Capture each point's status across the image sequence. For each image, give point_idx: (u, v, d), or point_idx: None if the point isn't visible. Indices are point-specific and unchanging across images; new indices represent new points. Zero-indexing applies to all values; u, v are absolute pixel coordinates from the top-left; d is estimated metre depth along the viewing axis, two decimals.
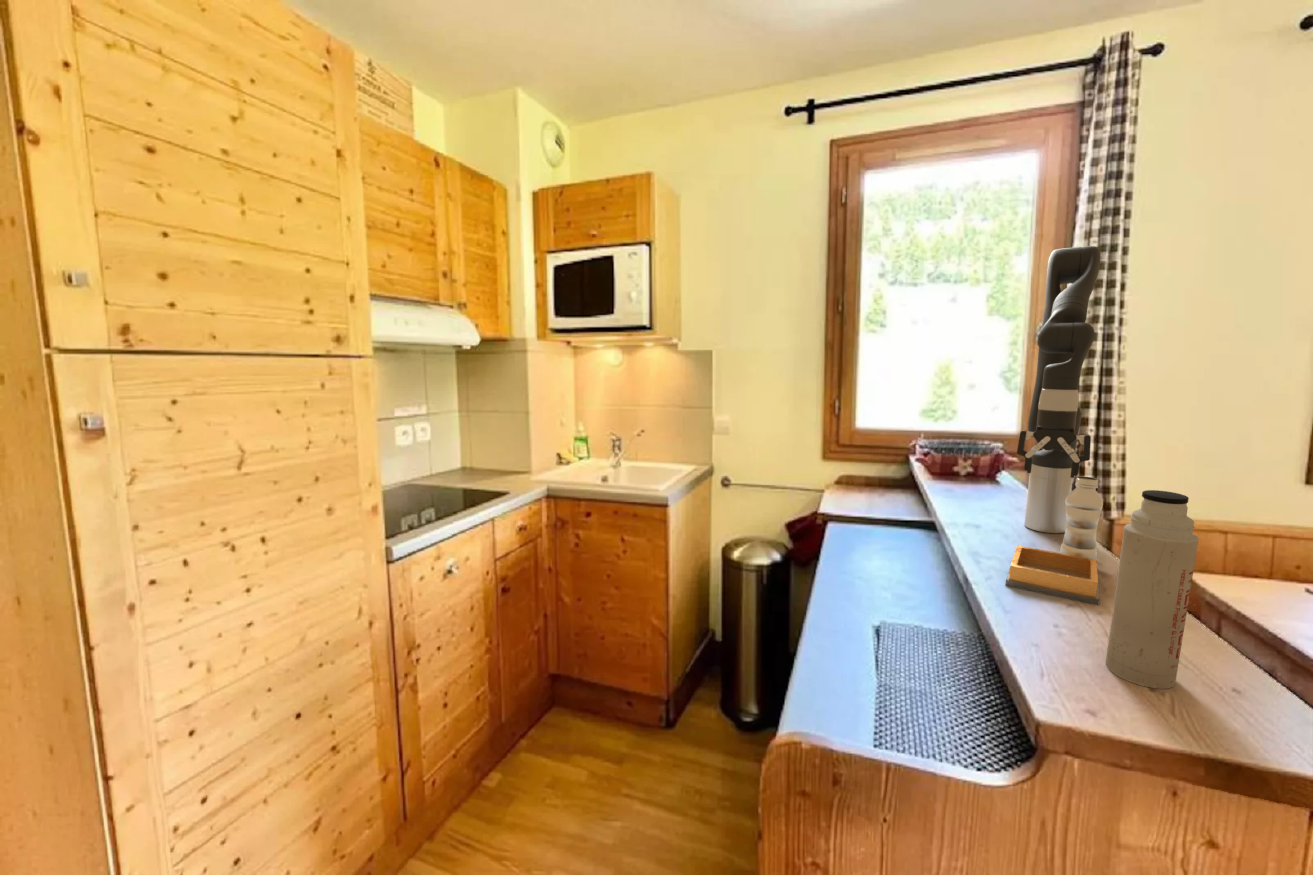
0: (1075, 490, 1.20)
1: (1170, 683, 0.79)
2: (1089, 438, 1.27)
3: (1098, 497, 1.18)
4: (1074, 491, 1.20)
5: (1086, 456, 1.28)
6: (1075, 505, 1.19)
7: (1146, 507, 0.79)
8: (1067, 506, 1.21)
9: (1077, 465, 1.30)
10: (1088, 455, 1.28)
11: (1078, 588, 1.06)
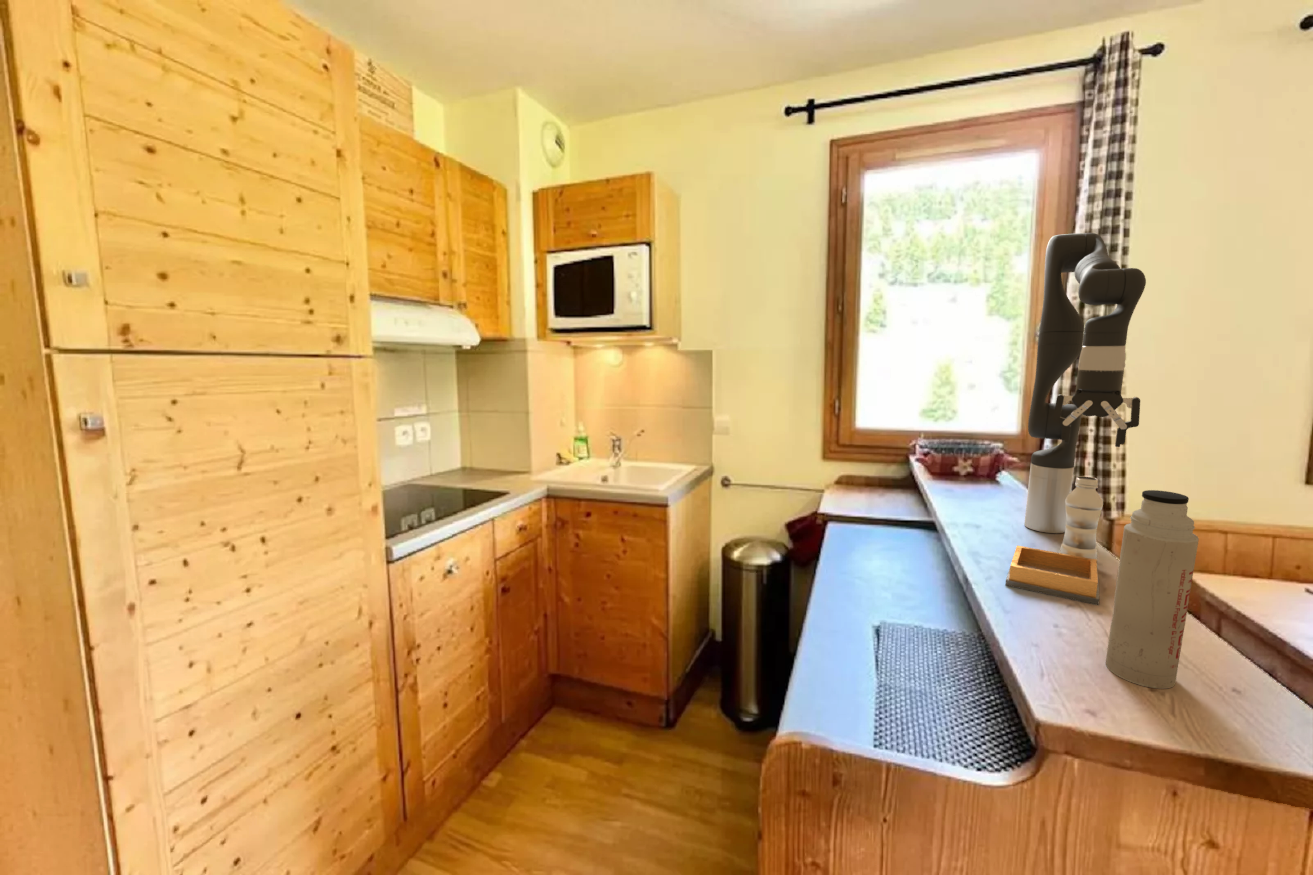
0: (1075, 490, 1.20)
1: (1170, 683, 0.79)
2: (1138, 401, 1.11)
3: (1098, 497, 1.18)
4: (1074, 491, 1.20)
5: (1135, 422, 1.12)
6: (1075, 505, 1.19)
7: (1146, 507, 0.79)
8: (1067, 506, 1.21)
9: (1124, 432, 1.14)
10: (1137, 420, 1.12)
11: (1078, 588, 1.06)
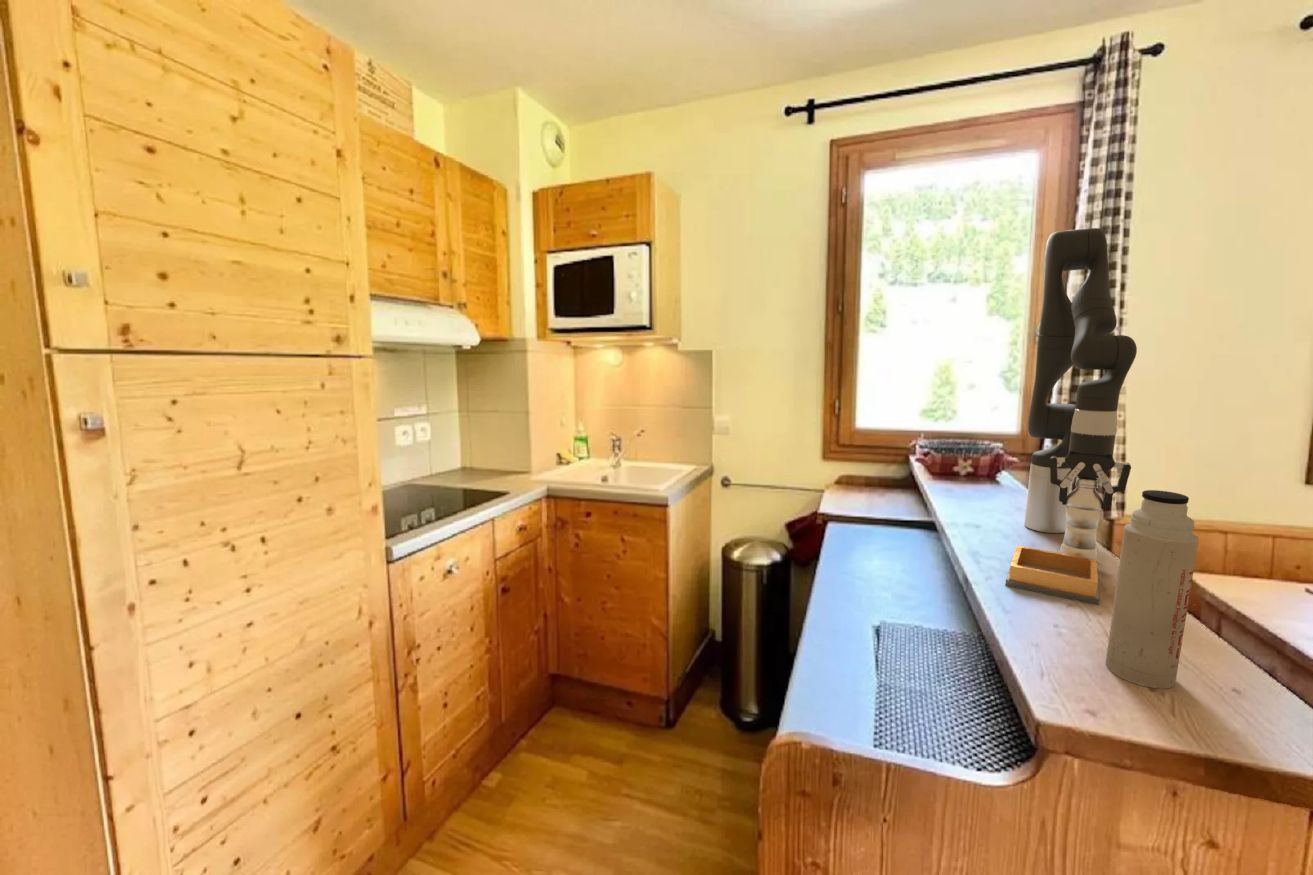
0: (1075, 490, 1.20)
1: (1170, 683, 0.79)
2: (1129, 468, 1.14)
3: (1098, 497, 1.18)
4: (1074, 491, 1.20)
5: (1121, 487, 1.15)
6: (1075, 505, 1.19)
7: (1146, 507, 0.79)
8: (1067, 506, 1.21)
9: (1110, 496, 1.17)
10: (1123, 486, 1.15)
11: (1078, 588, 1.06)
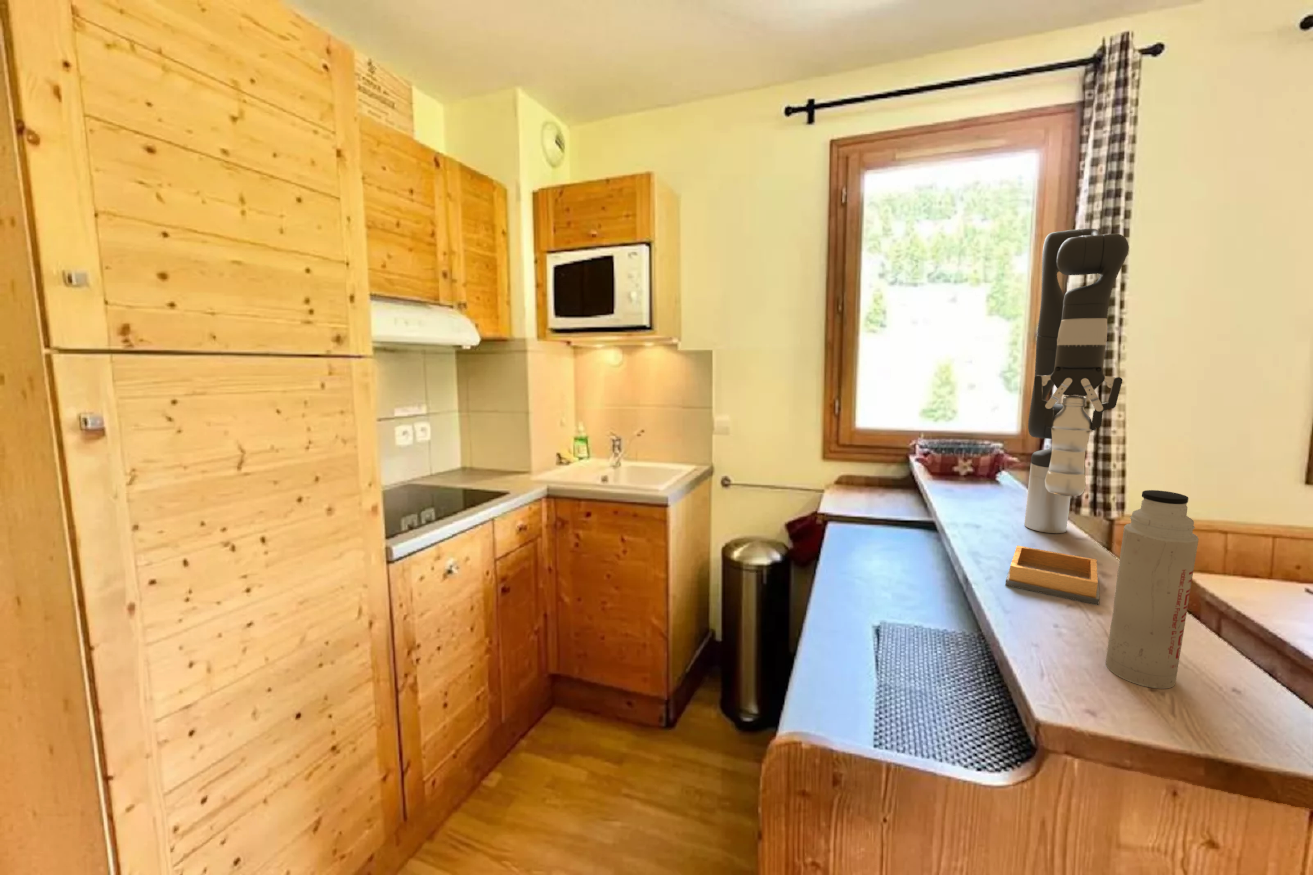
0: (1062, 410, 1.09)
1: (1170, 683, 0.79)
2: (1120, 381, 1.03)
3: (1087, 416, 1.07)
4: (1061, 411, 1.09)
5: (1112, 403, 1.04)
6: (1062, 425, 1.08)
7: (1146, 507, 0.79)
8: (1053, 428, 1.10)
9: (1100, 414, 1.06)
10: (1114, 401, 1.04)
11: (1078, 588, 1.06)
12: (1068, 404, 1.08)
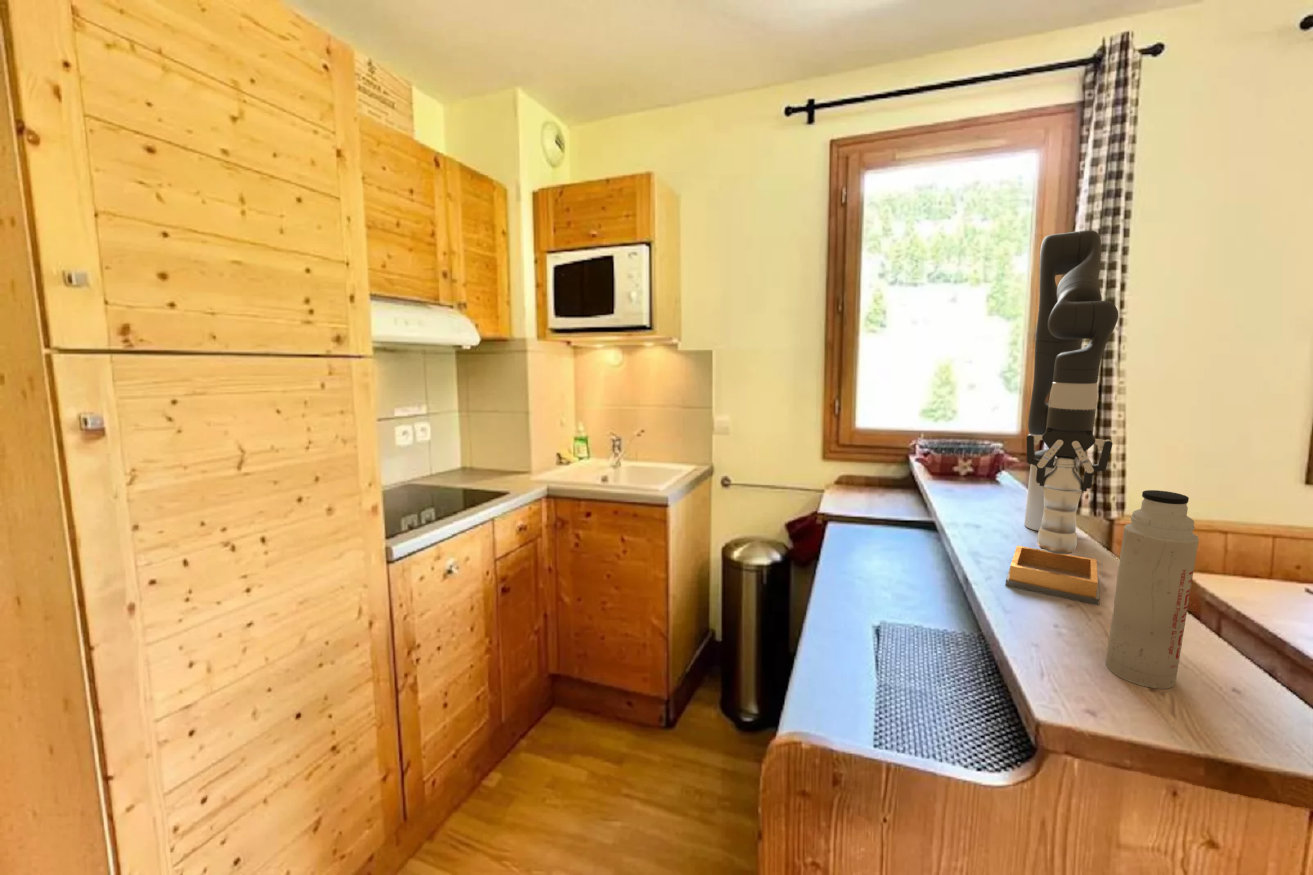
0: (1053, 470, 1.11)
1: (1170, 683, 0.79)
2: (1110, 445, 1.05)
3: (1078, 477, 1.09)
4: (1052, 471, 1.11)
5: (1102, 466, 1.06)
6: (1053, 486, 1.10)
7: (1146, 507, 0.79)
8: (1045, 487, 1.12)
9: (1090, 476, 1.08)
10: (1104, 464, 1.06)
11: (1078, 588, 1.06)
12: (1059, 465, 1.10)
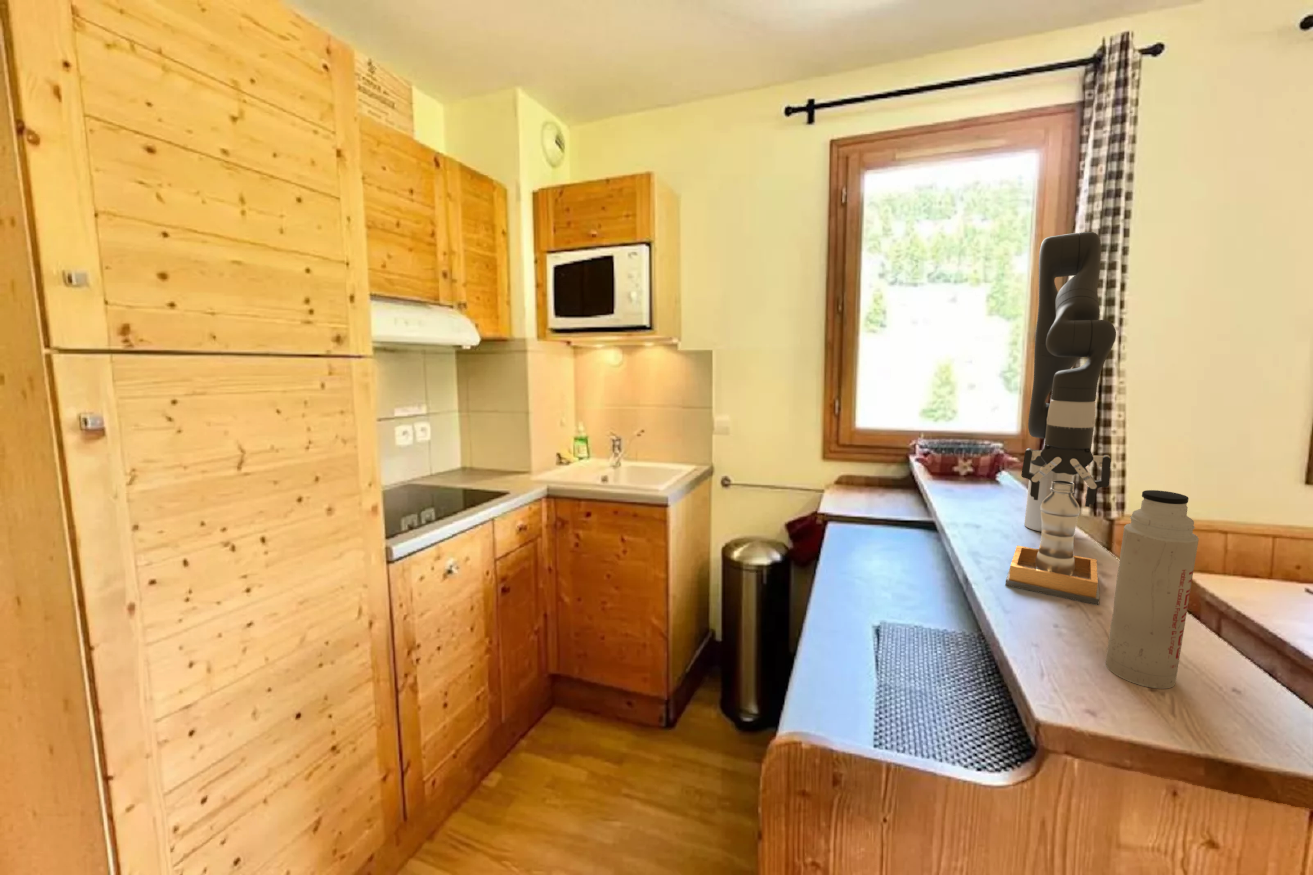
0: (1050, 495, 1.12)
1: (1170, 683, 0.79)
2: (1109, 460, 1.05)
3: (1074, 502, 1.10)
4: (1049, 496, 1.12)
5: (1105, 482, 1.06)
6: (1050, 511, 1.11)
7: (1146, 507, 0.79)
8: (1042, 512, 1.13)
9: (1093, 492, 1.08)
10: (1107, 480, 1.06)
11: (1078, 588, 1.06)
12: (1056, 490, 1.11)
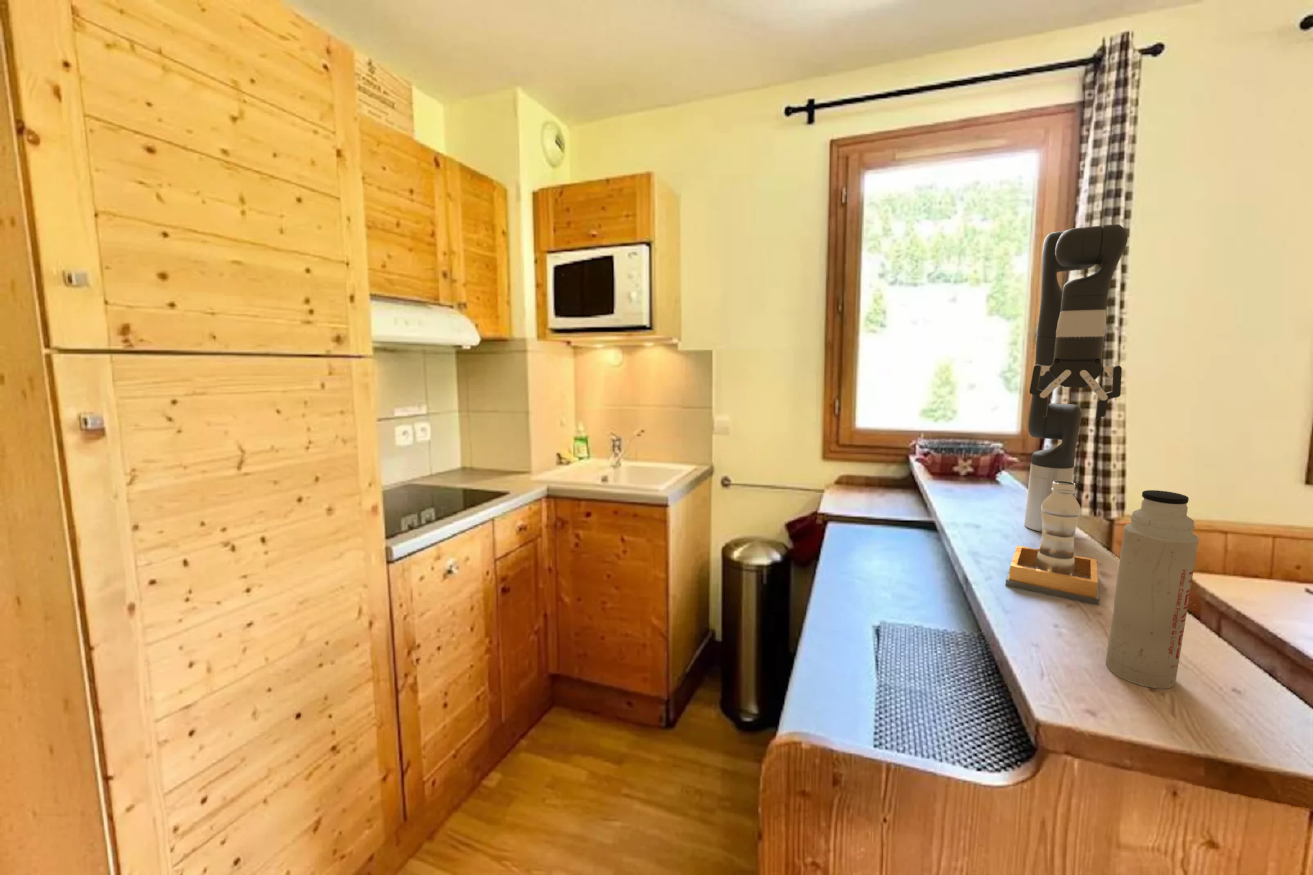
0: (1051, 495, 1.12)
1: (1170, 683, 0.79)
2: (1120, 369, 1.03)
3: (1075, 503, 1.10)
4: (1050, 496, 1.12)
5: (1116, 392, 1.04)
6: (1051, 511, 1.11)
7: (1146, 507, 0.79)
8: (1043, 512, 1.13)
9: (1104, 404, 1.06)
10: (1118, 390, 1.04)
11: (1078, 588, 1.06)
12: (1057, 490, 1.11)
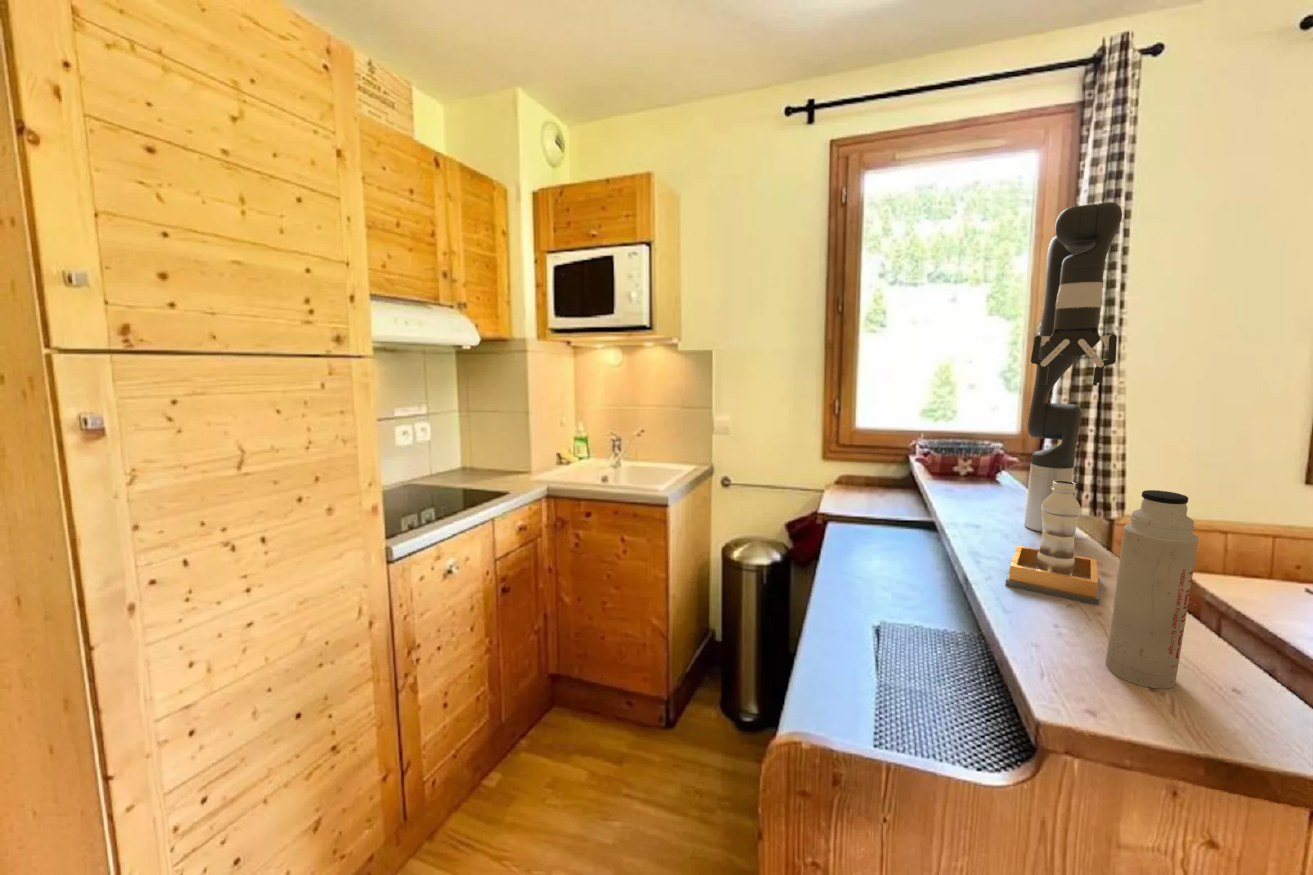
0: (1051, 495, 1.12)
1: (1170, 683, 0.79)
2: (1115, 337, 1.11)
3: (1076, 503, 1.10)
4: (1050, 496, 1.12)
5: (1111, 359, 1.11)
6: (1051, 511, 1.11)
7: (1146, 507, 0.79)
8: (1043, 512, 1.13)
9: (1101, 370, 1.13)
10: (1114, 357, 1.11)
11: (1078, 588, 1.06)
12: (1057, 490, 1.11)
